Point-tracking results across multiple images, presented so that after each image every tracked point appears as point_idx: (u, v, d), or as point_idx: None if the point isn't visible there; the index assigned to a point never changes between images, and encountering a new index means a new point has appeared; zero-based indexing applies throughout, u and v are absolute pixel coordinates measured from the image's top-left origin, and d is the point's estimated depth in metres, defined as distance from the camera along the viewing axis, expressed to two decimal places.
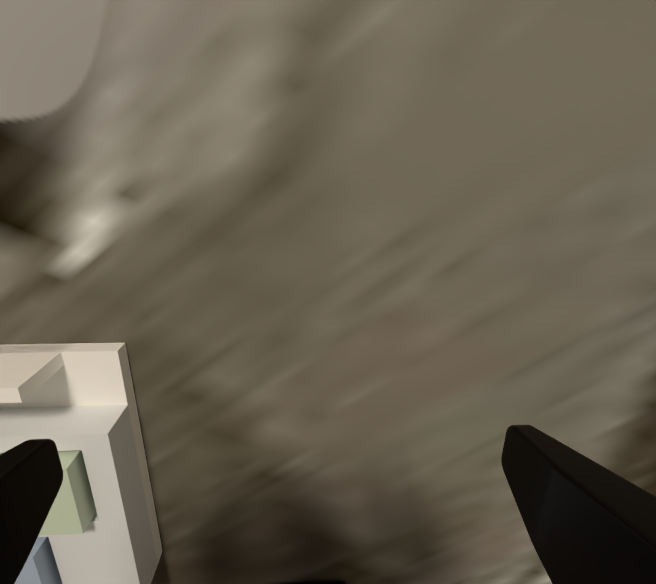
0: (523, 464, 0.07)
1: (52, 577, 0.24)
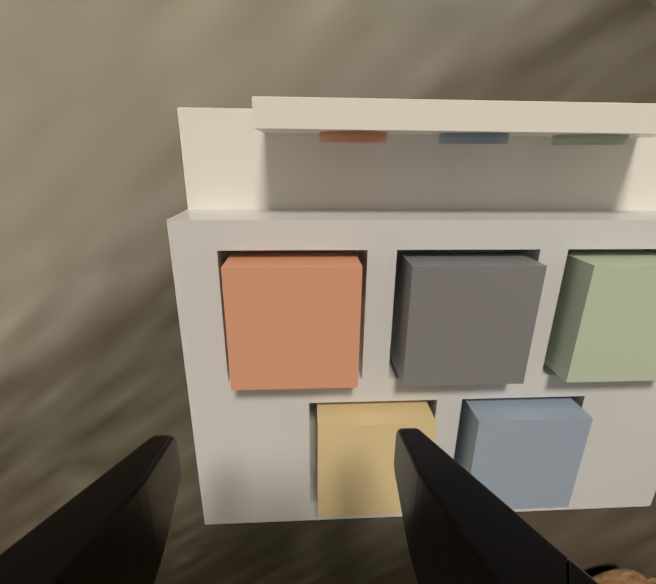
0: (403, 468, 0.07)
1: None
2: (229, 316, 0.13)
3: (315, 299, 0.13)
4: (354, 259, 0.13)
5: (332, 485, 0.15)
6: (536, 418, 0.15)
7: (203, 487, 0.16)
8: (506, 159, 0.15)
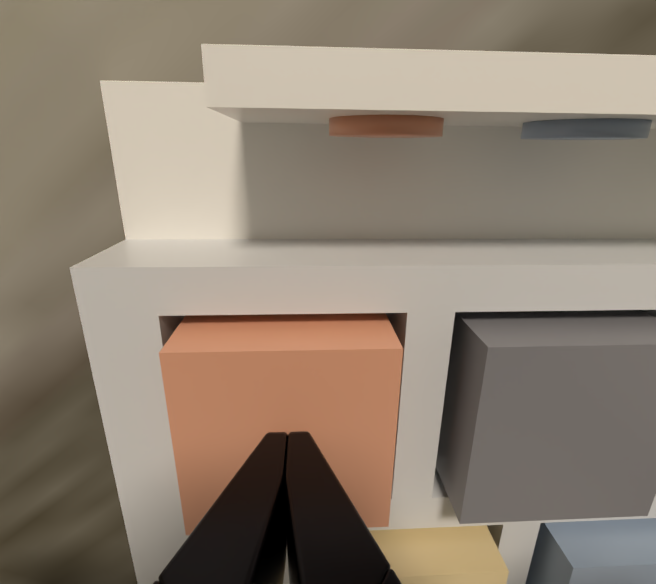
0: None
1: None
2: (177, 428, 0.08)
3: (322, 400, 0.08)
4: (386, 327, 0.08)
5: None
6: None
7: None
8: (613, 162, 0.10)
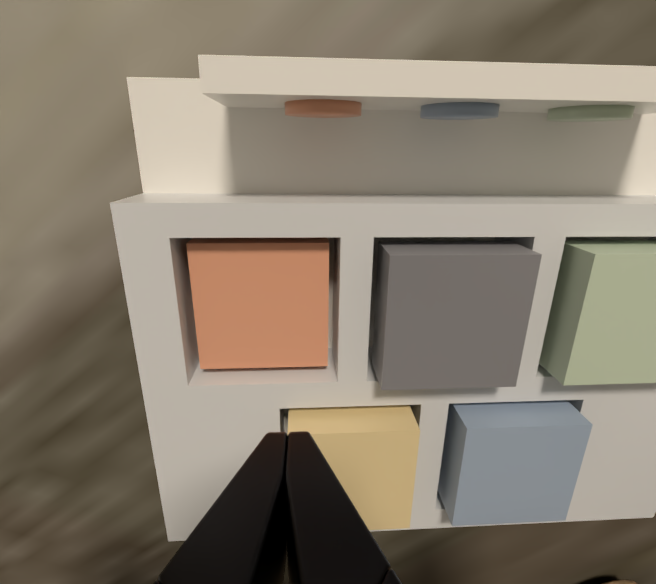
0: None
1: None
2: (196, 293, 0.13)
3: (282, 276, 0.13)
4: (323, 237, 0.13)
5: None
6: (530, 425, 0.14)
7: (165, 501, 0.15)
8: (497, 137, 0.14)
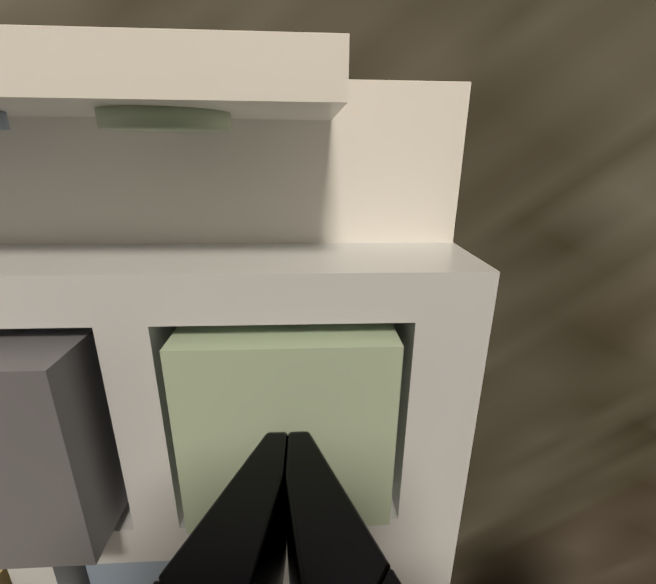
0: None
1: None
2: None
3: None
4: None
5: None
6: None
7: None
8: (103, 157, 0.09)
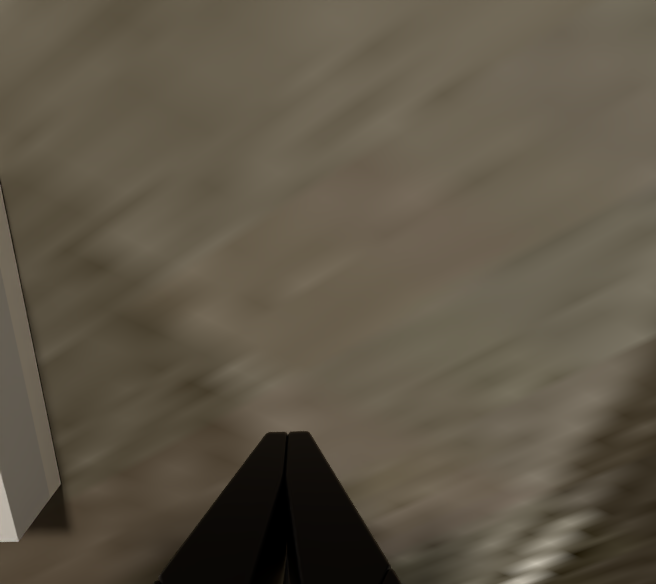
0: None
1: None
2: None
3: None
4: None
5: None
6: None
7: None
8: None
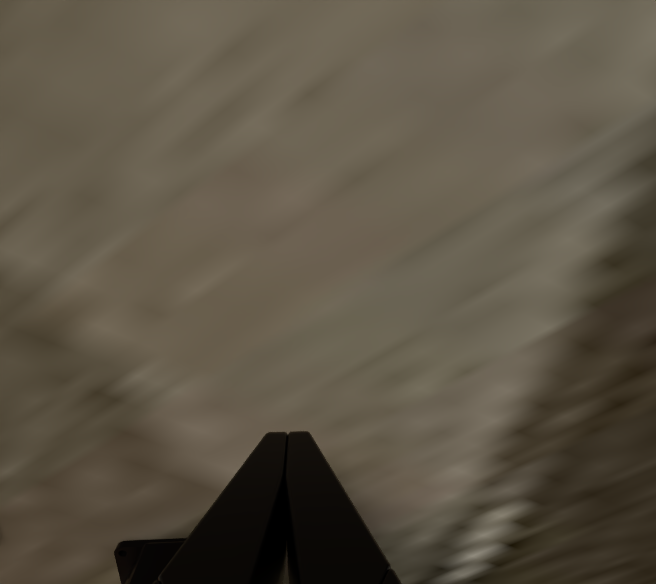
0: None
1: None
2: None
3: None
4: None
5: None
6: None
7: None
8: None
